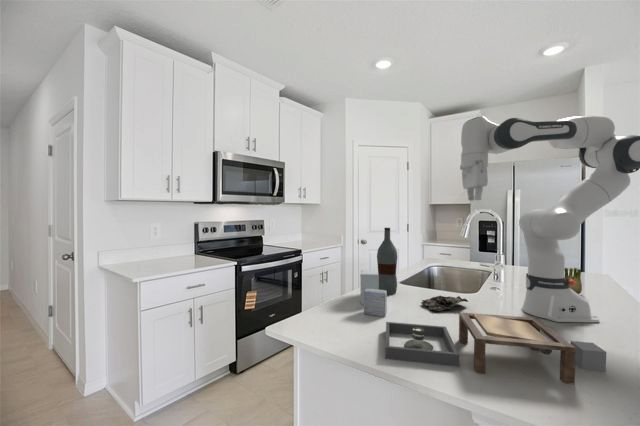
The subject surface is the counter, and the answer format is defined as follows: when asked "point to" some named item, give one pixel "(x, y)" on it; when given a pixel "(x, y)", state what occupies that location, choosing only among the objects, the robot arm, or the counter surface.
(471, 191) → the robot arm
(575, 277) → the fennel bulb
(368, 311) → the medicine box
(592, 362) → the stone block
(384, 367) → the counter surface
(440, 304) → the decorative rock
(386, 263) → the bottle
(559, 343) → the trapdoor frame
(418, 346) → the grey knobbed disc
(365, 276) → the supplement box
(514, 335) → the trapdoor
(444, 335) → the cup mat rim
